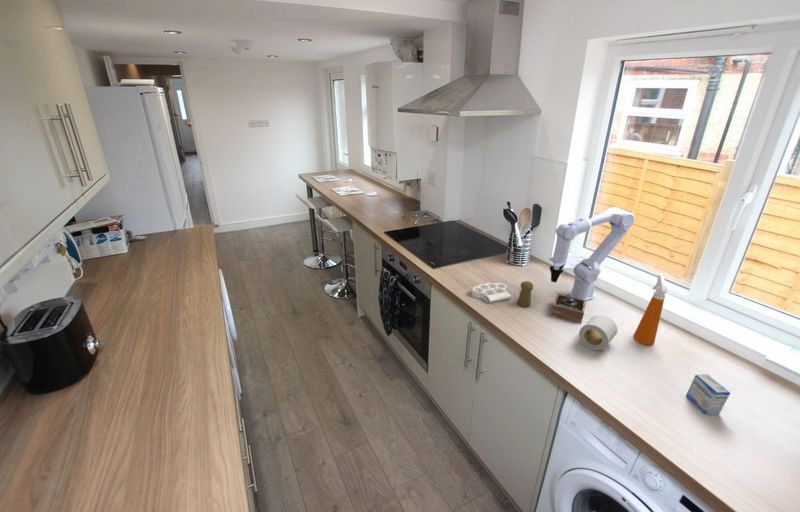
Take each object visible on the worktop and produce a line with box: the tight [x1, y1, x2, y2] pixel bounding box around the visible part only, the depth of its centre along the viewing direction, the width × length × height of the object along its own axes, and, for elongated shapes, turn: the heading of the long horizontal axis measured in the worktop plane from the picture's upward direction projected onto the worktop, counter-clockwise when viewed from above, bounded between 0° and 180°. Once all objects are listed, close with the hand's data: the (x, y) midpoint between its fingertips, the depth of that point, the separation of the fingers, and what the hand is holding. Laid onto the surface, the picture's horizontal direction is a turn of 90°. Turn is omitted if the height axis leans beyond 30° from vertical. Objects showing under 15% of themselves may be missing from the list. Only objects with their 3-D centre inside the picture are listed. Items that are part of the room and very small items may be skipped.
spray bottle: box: [632, 273, 668, 346], centre depth 139 cm, size 7×11×26 cm, turn 161°
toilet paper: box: [578, 314, 618, 351], centre depth 138 cm, size 10×10×10 cm
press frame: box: [550, 293, 587, 324], centre depth 158 cm, size 12×12×5 cm
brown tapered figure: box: [516, 280, 534, 309], centre depth 162 cm, size 6×6×11 cm
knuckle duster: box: [471, 282, 512, 304], centre depth 172 cm, size 3×18×15 cm
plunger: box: [557, 296, 581, 311], centre depth 158 cm, size 9×9×6 cm
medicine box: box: [685, 373, 731, 416], centre depth 110 cm, size 8×4×9 cm, turn 5°
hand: (554, 278), depth 166 cm, fingers open, 7 cm apart
